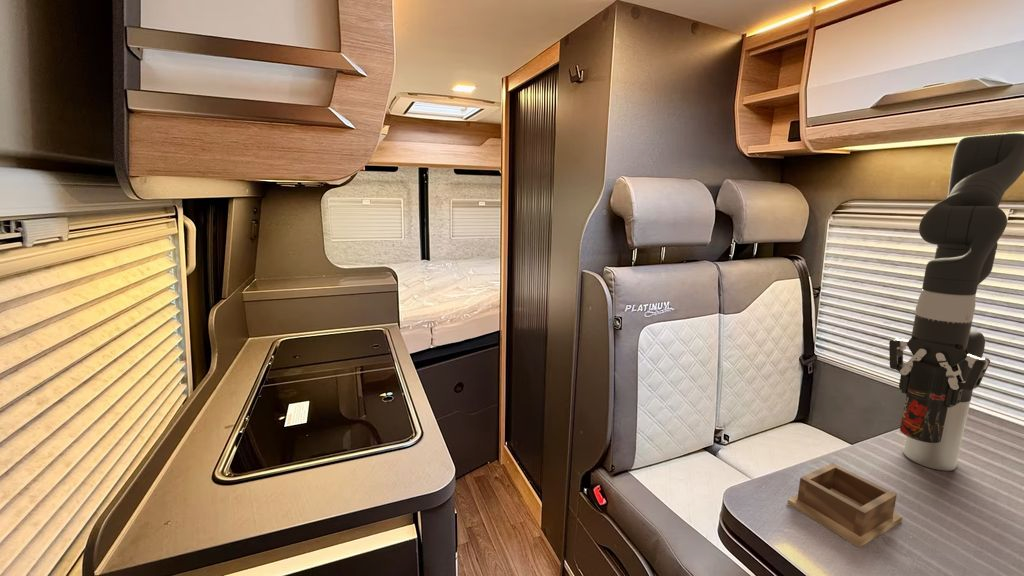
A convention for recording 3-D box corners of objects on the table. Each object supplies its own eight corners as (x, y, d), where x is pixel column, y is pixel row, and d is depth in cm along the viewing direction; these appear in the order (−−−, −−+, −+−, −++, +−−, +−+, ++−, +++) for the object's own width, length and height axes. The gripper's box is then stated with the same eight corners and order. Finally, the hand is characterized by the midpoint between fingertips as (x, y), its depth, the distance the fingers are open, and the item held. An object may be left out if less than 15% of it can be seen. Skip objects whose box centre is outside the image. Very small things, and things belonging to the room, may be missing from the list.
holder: (829, 483, 96) (833, 458, 94) (901, 521, 84) (906, 494, 83) (787, 503, 89) (790, 477, 88) (859, 547, 78) (864, 519, 77)
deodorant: (949, 444, 81) (965, 370, 78) (912, 441, 82) (927, 367, 79) (926, 428, 87) (940, 358, 84) (892, 425, 88) (905, 356, 85)
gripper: (1008, 322, 75) (987, 410, 78) (905, 304, 87) (891, 381, 91) (989, 328, 72) (969, 420, 75) (886, 309, 84) (872, 388, 88)
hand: (926, 398), depth 83 cm, fingers closed on deodorant, 6 cm apart
